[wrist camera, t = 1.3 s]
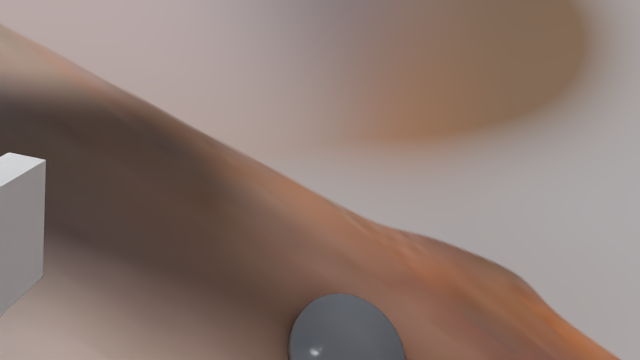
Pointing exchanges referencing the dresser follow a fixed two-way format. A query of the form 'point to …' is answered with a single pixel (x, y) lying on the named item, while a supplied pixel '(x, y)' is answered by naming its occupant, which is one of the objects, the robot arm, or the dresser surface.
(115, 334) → the dresser surface
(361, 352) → the coaster
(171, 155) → the dresser surface
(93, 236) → the dresser surface
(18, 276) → the robot arm
